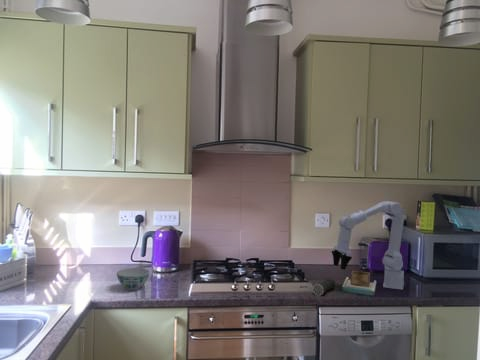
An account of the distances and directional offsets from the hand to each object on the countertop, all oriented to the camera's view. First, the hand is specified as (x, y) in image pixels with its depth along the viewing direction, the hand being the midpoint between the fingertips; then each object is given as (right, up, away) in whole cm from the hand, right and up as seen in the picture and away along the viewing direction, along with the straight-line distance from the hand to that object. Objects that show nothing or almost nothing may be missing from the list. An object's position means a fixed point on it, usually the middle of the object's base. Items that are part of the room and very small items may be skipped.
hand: (339, 267), depth 194 cm
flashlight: (-9, -11, -6) cm, 15 cm away
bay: (+11, -11, +2) cm, 16 cm away
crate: (+12, -10, +6) cm, 17 cm away
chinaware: (-101, -8, -10) cm, 102 cm away
